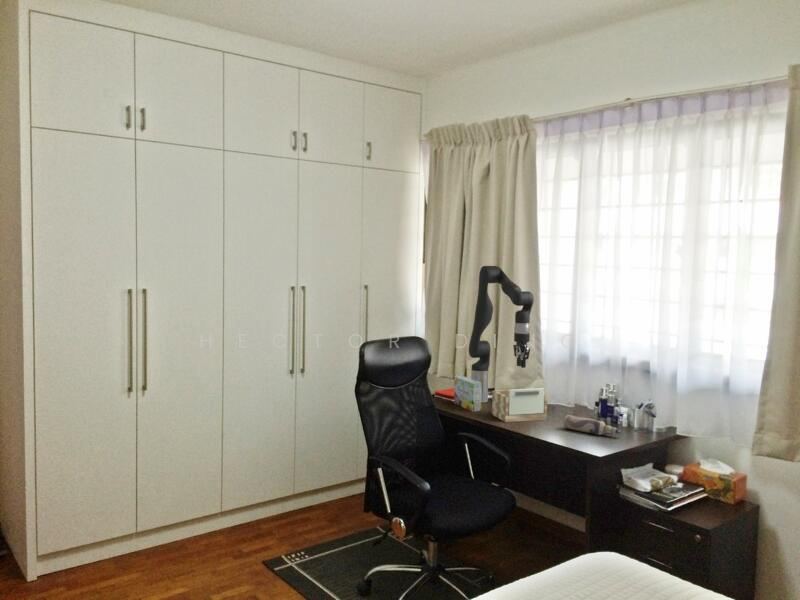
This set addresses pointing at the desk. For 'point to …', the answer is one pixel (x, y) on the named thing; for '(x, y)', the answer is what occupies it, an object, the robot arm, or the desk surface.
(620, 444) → the desk surface
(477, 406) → the snack box
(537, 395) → the white rectangular panel
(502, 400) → the beige open box
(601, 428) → the decorative bottle
